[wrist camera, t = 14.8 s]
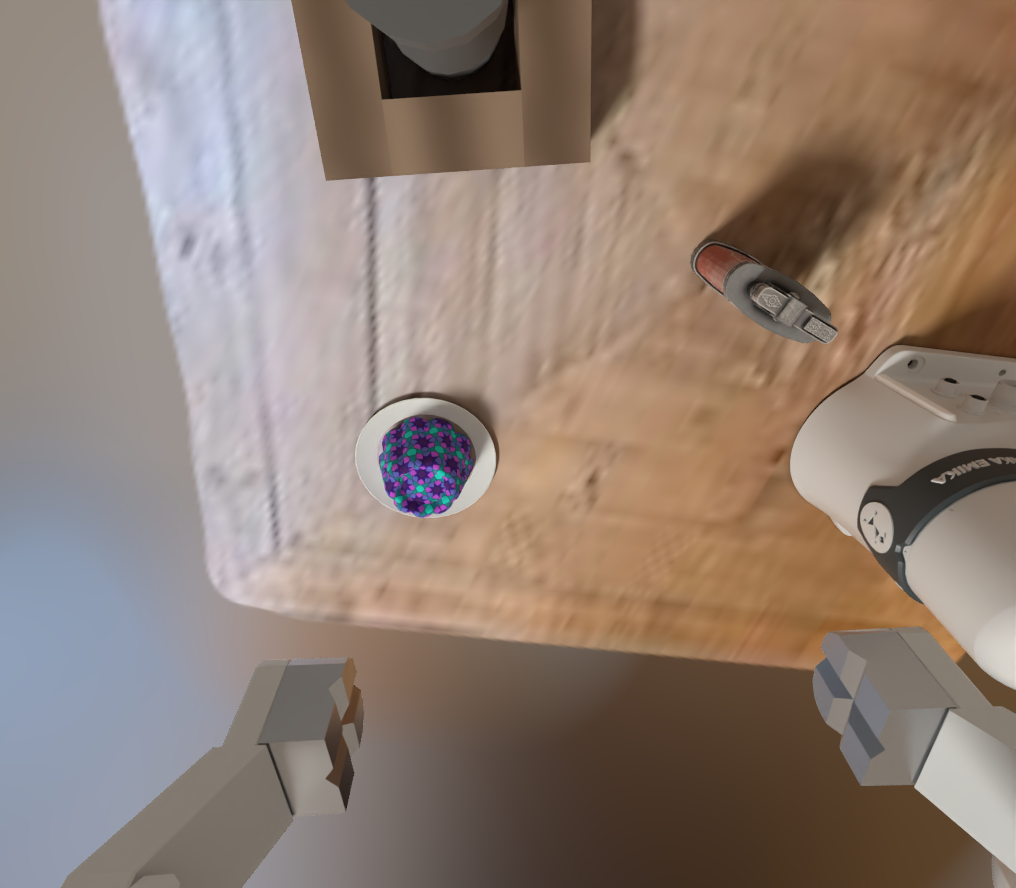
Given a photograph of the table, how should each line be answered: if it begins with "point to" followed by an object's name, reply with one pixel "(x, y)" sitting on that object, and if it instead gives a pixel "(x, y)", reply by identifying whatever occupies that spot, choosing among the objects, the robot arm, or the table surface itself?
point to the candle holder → (440, 31)
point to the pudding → (425, 458)
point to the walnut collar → (447, 98)
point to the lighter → (763, 293)
